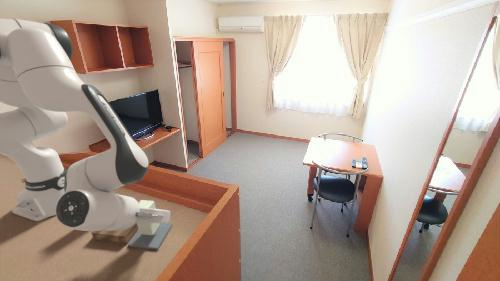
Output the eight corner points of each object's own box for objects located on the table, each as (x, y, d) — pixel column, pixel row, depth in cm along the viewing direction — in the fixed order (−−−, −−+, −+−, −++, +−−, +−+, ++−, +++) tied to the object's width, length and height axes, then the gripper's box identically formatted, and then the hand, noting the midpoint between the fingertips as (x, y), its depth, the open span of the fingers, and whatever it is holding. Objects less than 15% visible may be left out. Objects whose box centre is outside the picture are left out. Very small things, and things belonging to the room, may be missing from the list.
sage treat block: (139, 233, 74) (132, 209, 70) (147, 223, 78) (141, 199, 74) (152, 235, 73) (146, 210, 69) (159, 224, 77) (154, 201, 73)
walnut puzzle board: (94, 239, 76) (91, 232, 74) (118, 213, 86) (116, 207, 85) (127, 243, 74) (125, 236, 73) (147, 216, 85) (146, 210, 84)
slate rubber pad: (128, 246, 73) (128, 244, 73) (145, 223, 82) (145, 221, 82) (158, 249, 72) (157, 248, 71) (172, 225, 81) (172, 224, 80)
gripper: (160, 203, 61) (180, 207, 74) (90, 197, 64) (121, 202, 76) (154, 229, 59) (176, 228, 71) (82, 221, 61) (116, 222, 74)
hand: (147, 215), depth 74 cm, fingers closed on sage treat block, 4 cm apart
